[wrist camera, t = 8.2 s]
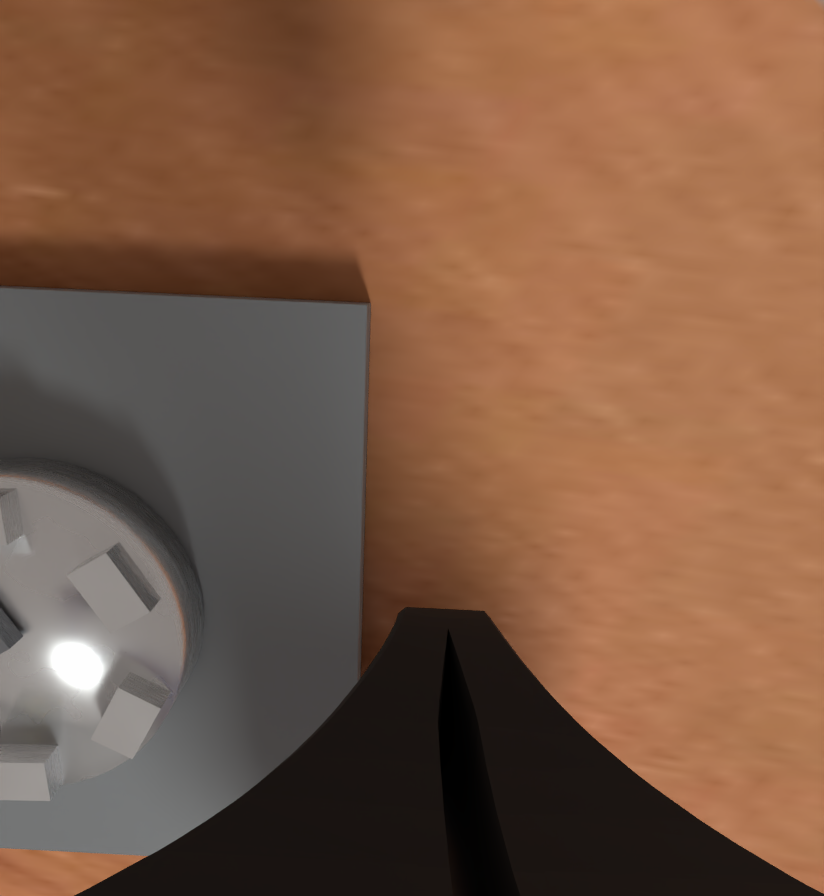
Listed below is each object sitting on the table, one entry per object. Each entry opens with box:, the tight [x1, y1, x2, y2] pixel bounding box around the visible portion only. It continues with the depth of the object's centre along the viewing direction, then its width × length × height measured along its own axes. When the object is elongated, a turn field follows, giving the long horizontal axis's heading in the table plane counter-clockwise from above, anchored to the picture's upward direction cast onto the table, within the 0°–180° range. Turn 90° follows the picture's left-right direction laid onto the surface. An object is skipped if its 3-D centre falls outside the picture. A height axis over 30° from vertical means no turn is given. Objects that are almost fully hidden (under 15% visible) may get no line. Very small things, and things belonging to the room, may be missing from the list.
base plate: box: [0, 286, 371, 856], centre depth 20 cm, size 18×18×1 cm
